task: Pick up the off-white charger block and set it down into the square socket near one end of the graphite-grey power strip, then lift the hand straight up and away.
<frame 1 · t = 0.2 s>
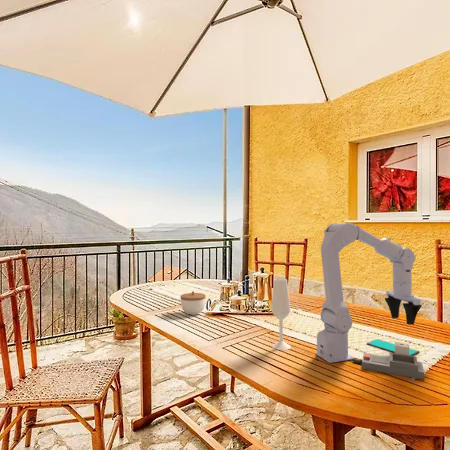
hand: (402, 321, 112), 10 cm above the table, tool pointing down, fingers open, 7 cm apart
champagne flute: (281, 347, 115), on the table
lidded sugar bowl: (193, 313, 162), on the table
charger: (402, 360, 103), on the table
power strip: (391, 368, 96), on the table
smartphone: (392, 350, 113), on the table
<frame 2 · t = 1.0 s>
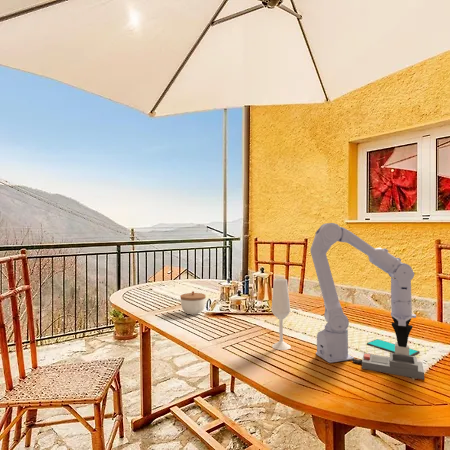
hand: (402, 342, 103), 6 cm above the table, tool pointing down, fingers open, 7 cm apart
nothing on the table moved.
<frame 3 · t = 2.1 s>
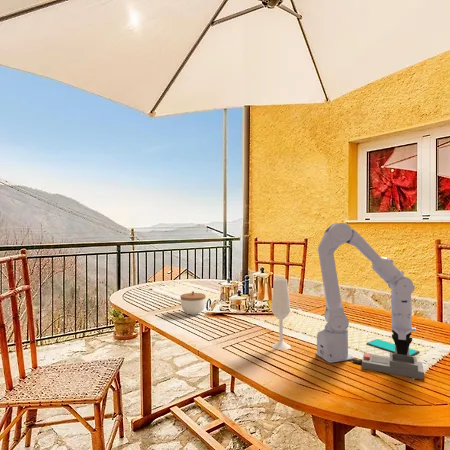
hand: (402, 355, 103), 1 cm above the table, tool pointing down, fingers closed on charger, 4 cm apart
charger: (402, 360, 103), on the table, touching gripper
everything else where it was.
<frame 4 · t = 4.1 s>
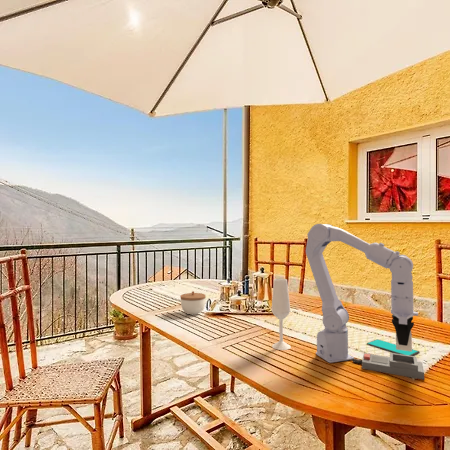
hand: (402, 342, 95), 8 cm above the table, tool pointing down, fingers closed on charger, 4 cm apart
charger: (403, 348, 95), point 7 cm above the table, touching gripper
everything else where it was.
when the fingers open (4 cm above the table, at t = 5.6 s): charger stays where it is, resting on power strip.
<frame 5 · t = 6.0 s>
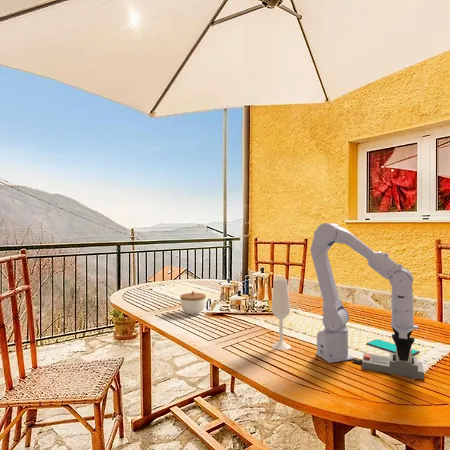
hand: (403, 355, 95), 4 cm above the table, tool pointing down, fingers open, 7 cm apart
charger: (403, 363, 95), point 2 cm above the table, touching power strip
everything else where it was.
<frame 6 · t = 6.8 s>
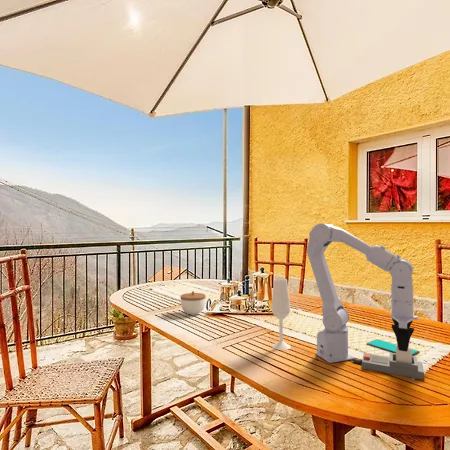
hand: (402, 346, 95), 7 cm above the table, tool pointing down, fingers open, 7 cm apart
nothing on the table moved.
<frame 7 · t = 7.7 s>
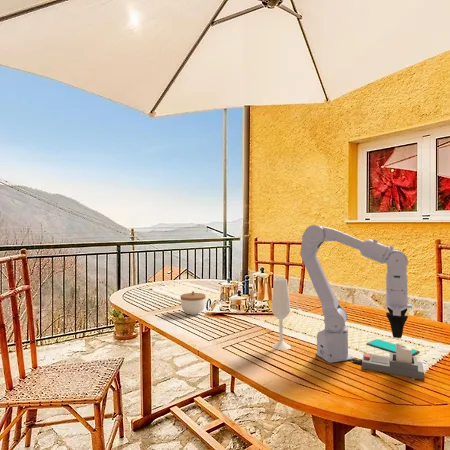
hand: (397, 333, 98), 10 cm above the table, tool pointing down, fingers open, 7 cm apart
nothing on the table moved.
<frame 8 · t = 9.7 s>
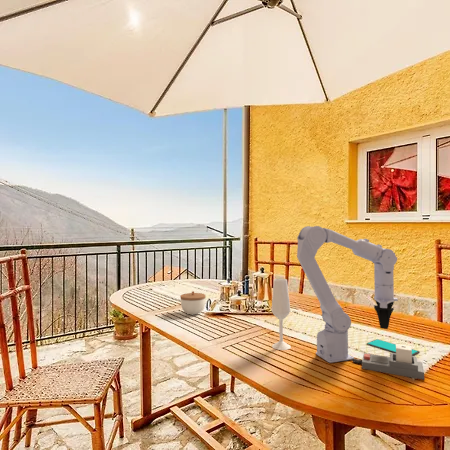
hand: (384, 325, 107), 10 cm above the table, tool pointing down, fingers open, 7 cm apart
nothing on the table moved.
at the end: charger 0.1 cm from the target spot, point 2.0 cm above the table; charger tilted 0°; the gripper is holding nothing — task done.
